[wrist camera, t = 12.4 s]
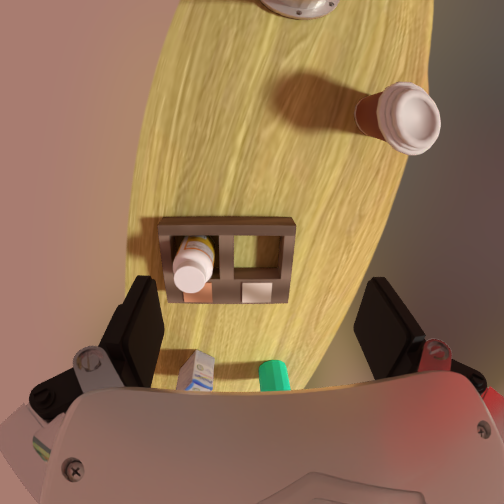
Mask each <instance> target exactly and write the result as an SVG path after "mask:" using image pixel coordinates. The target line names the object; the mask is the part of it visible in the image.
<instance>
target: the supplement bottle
mask: <svg viewBox="0 0 504 504" xmlns="http://www.w3.org/2000/svg"><path fill="white" fill-rule="evenodd" d="M214 257H215V243H214V241H213V239H212V238H211V237H210V236H209V235H186V236H185V237H184V238H183V240H182V242H181V244H180V247H179V249H178V252H177V254H176V256H175V259H174V262H173V272H174V282H175V285H176V286H177V287H178V288H179V289H180V290H181V291H183V292H186V293H196V292H198V291H200V290H201V289H202V288H203V287H204V285H205V283H206V282H207V281H208V280H209V279H210V277H211V275H212V272H213V265H214Z"/></svg>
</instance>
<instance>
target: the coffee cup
mask: <svg viewBox="0 0 504 504" xmlns="http://www.w3.org/2000/svg"><path fill="white" fill-rule="evenodd" d="M354 117H355V122H356V124H357V126H358V128H359V130H361V131H362V132H363V133H364V134H365V135H368V136H371V137H375V138H377V139H380V140H383V141H386V142H388V143H389V144H390V145H391V146H392V147H393V148H394V149H395V150H396V151H399V152H402V153H404V154H407V155H417V154H422V153H423V152H425V151H426V150H427V149H429V148H430V147H431V145H432V144H433V143H434V142H435V140H436V139H437V137H438V136H439V131H440V126H441V121H440V113H439V111H438V108H437V106H436V104H435V102H434V101H433V100H432V99H431V98H430V96H429V95H428V94H427V93H426V92H425V91H424V90H423V88H421V87H419V86H417V85H415V84H413V83H411V82H396V83H394V84H392V85H390V86H388V87H386V88H385V90H384V91H383V92H380V93H377V94H374V95H370V96H367V97H364V98H362V99H361V100H359V102H358V103H357V105H356V106H355V111H354Z"/></svg>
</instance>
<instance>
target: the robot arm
mask: <svg viewBox="0 0 504 504" xmlns="http://www.w3.org/2000/svg"><path fill="white" fill-rule="evenodd" d="M260 1H261V2H262V3H263V4H264V5H265V6H266V7H267V8H269V9H271V10H272V11H274V12H276V13H278V14H280V15H282V16H286V17H289V18H294V19H302V20H310V19H317V18H320V17H323V16H325V15H327V14H329V13H330V12H332V11H333V10H334V9H335V8H336V6H337V5H338V3H339V0H260ZM297 14H299V15H297ZM354 332H355V335H356V337H357V339H358V341H359V343H360V346H361V348H362V351H363V352H364V355H365V357H366V360H367V362H368V364H369V367H370V369H371V372H372V374H373V376H374V379H375V380H373V381H367V382H362V383H354V384H348V385H340V386H332V387H323V388H313V389H302V390H287V391H267V392H207V391H186V390H170V389H158V388H151V384H152V379H153V375H154V371H155V367H156V363H157V359H158V355H159V351H160V347H161V343H162V340H163V336H164V322H163V318H162V313H161V308H160V303H159V297H158V292H157V286H156V281H155V280H154V279H152V278H151V276H140V275H138V276H137V277H136V279H135V281H134V282H133V284H132V286H131V288H130V290H129V292H128V294H127V296H126V298H125V300H124V302H123V304H120V305H118V307H117V308H116V310H115V312H114V314H113V316H112V319H111V320H110V322H109V325H108V327H107V329H106V331H105V333H104V335H103V337H102V339H101V342H100V344H99V346H88V347H85V348H83V349H81V350H79V351H78V352H77V353H76V355H75V356H74V358H73V368H71V369H69V370H67V371H65V372H63V373H61V374H59V375H57V376H55V377H53V378H51V379H49V380H47V381H45V382H42V383H41V384H38V385H37V386H36V387H35V388H33V390H32V391H31V393H30V396H29V403H28V404H27V405H25V404H23V405H21V406H20V407H19V408H18V409H17V410H16V411H15V412H14V413H13V414H11V415H10V416H9V417H8V418H7V419H6V420H5V421H4V422H3V423H2V424H1V425H0V451H1V452H2V454H3V456H4V457H5V459H6V460H7V462H8V463H9V465H10V466H11V468H12V469H13V471H14V472H15V474H16V475H17V477H18V478H19V479H20V481H21V482H22V484H23V485H24V486H25V487H26V489H27V490H28V491H29V493H30V494H31V495H32V496H33V498H34V499H35V500H36V501H37V502H38V503H39V504H504V397H503V396H502V395H500V394H499V393H498V392H497V391H495V390H494V389H493V388H491V387H489V388H487V382H486V379H485V377H484V376H483V375H482V374H481V373H480V372H478V371H477V370H475V369H472V368H470V367H468V366H466V365H464V364H462V363H459V362H457V361H455V360H453V359H452V352H451V349H450V347H449V346H448V345H447V344H446V343H445V342H443V341H441V340H438V339H429V340H428V341H426V340H425V339H424V338H425V336H426V335H425V333H424V332H423V330H422V329H421V327H420V326H419V324H418V323H417V321H416V320H415V319H414V317H413V315H412V314H411V313H410V311H409V310H408V309H407V307H406V305H405V304H404V303H403V301H402V300H401V299H400V297H399V296H398V295H397V293H396V292H395V290H394V289H393V288H392V286H391V285H390V283H389V282H388V281H387V280H386V278H385V277H373V278H372V279H371V280H370V281H368V283H367V286H366V289H365V292H364V296H363V299H362V302H361V305H360V308H359V311H358V314H357V317H356V321H355V323H354Z"/></svg>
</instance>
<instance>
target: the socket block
mask: <svg viewBox="0 0 504 504" xmlns="http://www.w3.org/2000/svg"><path fill="white" fill-rule="evenodd" d="M158 234H159V243H160V252H161V259H162V267H163V274H164V281H165V287H166V294H167V300H168V303H195V304H274V303H288V298H289V289H290V281H291V272H292V263H293V254H294V244H295V234H296V224H295V223H294V221H293V219H292V217H163V219H162V220H161V221H160V223H159V224H158ZM175 235H219V260H220V268H213V272H212V275H211V277H210V279H209V280H208V281H207V282H206V283H205V285H204V287H203V288H202V289H201V290H200V291H198V292H196V293H186V292H183V291H181V290H180V289H179V288H178V287H177V286H176V285H175V282H174V272H173V262H174V259H175V256H176V245H175ZM234 235H255V236H280V246H279V258H278V268H234Z"/></svg>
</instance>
